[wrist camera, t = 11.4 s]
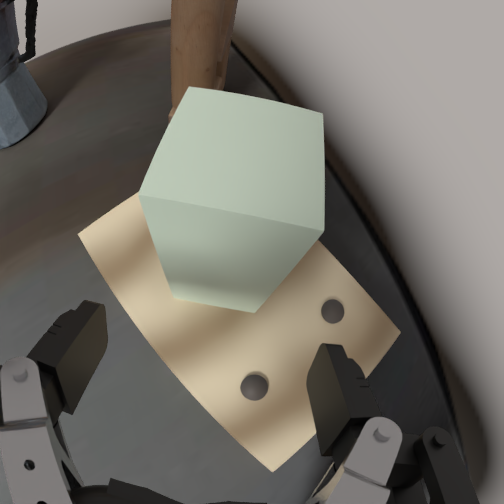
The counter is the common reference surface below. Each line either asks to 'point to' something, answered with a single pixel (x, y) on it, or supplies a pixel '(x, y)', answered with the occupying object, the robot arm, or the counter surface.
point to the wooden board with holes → (243, 334)
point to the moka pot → (17, 77)
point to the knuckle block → (234, 196)
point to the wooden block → (199, 45)
